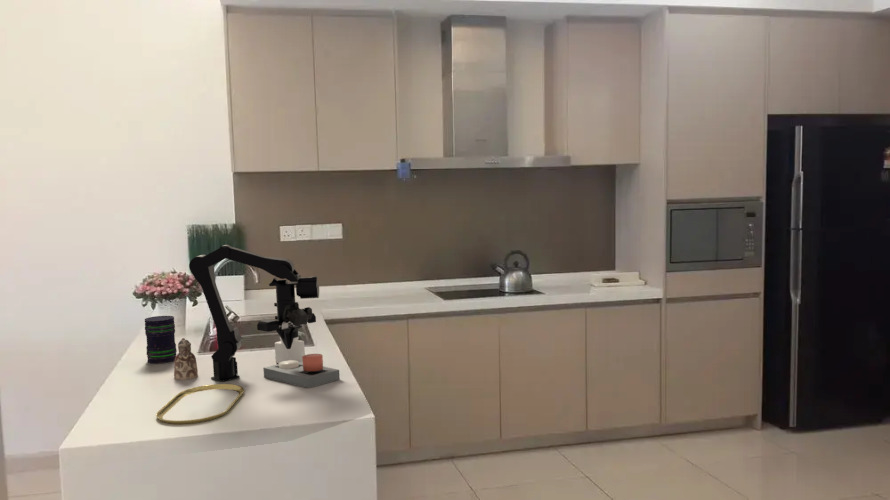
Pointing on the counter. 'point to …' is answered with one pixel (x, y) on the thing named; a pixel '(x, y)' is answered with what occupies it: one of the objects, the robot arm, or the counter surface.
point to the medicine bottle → (290, 350)
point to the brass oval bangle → (193, 390)
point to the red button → (312, 362)
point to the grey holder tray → (302, 375)
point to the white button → (288, 364)
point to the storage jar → (160, 339)
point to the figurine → (185, 362)
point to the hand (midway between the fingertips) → (288, 348)
